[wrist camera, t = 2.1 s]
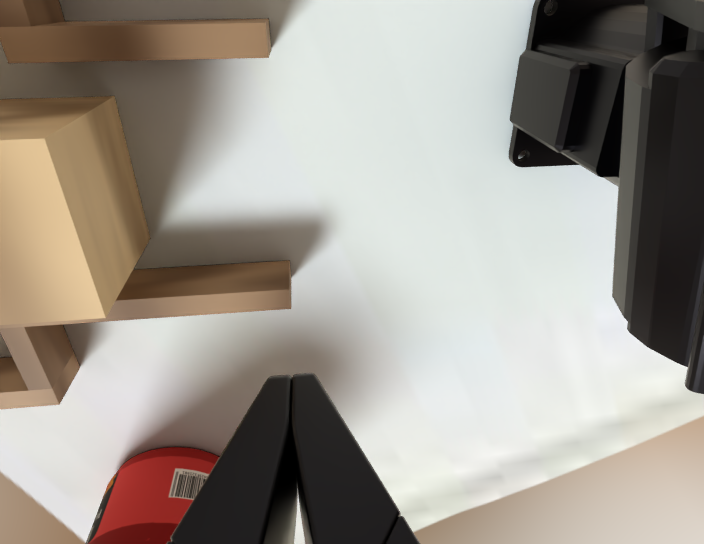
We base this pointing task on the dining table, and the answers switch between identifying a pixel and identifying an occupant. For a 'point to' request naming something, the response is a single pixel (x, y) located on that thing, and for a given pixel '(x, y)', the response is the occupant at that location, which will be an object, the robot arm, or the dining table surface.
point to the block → (65, 209)
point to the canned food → (150, 496)
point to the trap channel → (143, 284)
